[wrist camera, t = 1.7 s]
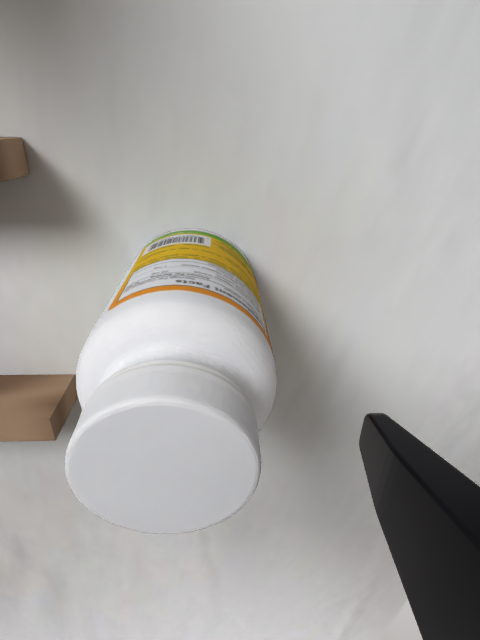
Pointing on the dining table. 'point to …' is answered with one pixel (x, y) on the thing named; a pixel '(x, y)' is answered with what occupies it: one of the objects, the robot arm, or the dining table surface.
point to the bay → (30, 390)
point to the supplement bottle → (174, 390)
